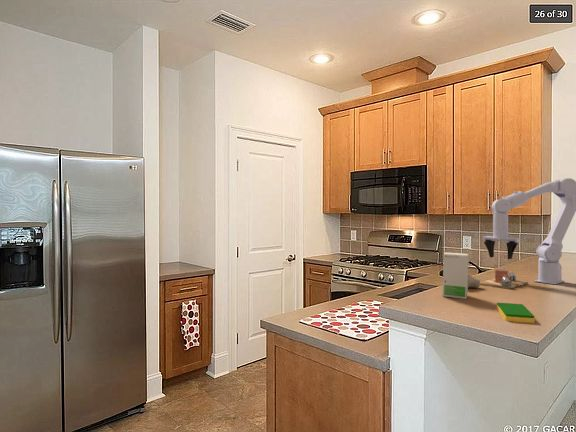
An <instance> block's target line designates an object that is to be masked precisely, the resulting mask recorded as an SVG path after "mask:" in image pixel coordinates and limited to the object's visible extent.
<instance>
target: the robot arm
mask: <svg viewBox="0 0 576 432" xmlns="http://www.w3.org/2000/svg"><path fill="white" fill-rule="evenodd" d="M546 193H553V194H554V195H556V197H558V198H559V199H560V201H561V203H562V204H561V207H560V209H559V211H558V213H557V216H556V218H555V220H554V222H553V225H552V227H551V229H550V231H549V233H548V235H547V236H546V238H545V239H544V240H543V241H542V243H541V244H539V245H538V247H536V250H535V251H536V255H537V257H538V260H537V261H538V266H537V267H538V269H537V270H538V272H537V273H538V276H537V277H538V279H535V280H534V281H533V282H536V283H543V284H548V285H549V284H550V285H558V284H561V283H563V282H565V280H562V278H563V277H562V275H563V274H562V273H563V272H562V270H563V268H562V265H561V263H560V259H561V257H562V250H563V240H564V238H565V235H566V233H567V231H568V229H569V226H570V224H571V223H572V221H573V219H574V216H575V214H576V180H575V179H573V178H563V179H556V180H554V181H549V182H545V183H543V184H540V185H538V186H536V187H534V188H532V189H530V190H527V191H520V190H519V191H517V190H515V191H513V193H512V194H510V195H509V194H508V195H507V196H505V195H504V196H502V197H501V199H496V200H494V201H493V202H492V204H491V206H490V207H491V211H493V213H492V214H493V215H492V233H493V234H492V235H484V236H482V241H484V242H483V243H484V245H485V247H486V249H487V251H488V255H489V258H494V256H495V250H494V249H495V244H496V242H504V243H506V249H507V259H508V260H512V259H513V256H514V252H515V250H516V248H517V246H518V245H519V243H520V237H512V236H509V211H510V210H512V209H514V208H518V207H520V206H522V205H525V204H527V202H528V200H530V199H532V198H535V197H538V196H541V195H543V194H546Z"/></svg>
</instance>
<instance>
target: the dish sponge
mask: <svg viewBox="0 0 576 432" xmlns="http://www.w3.org/2000/svg"><path fill="white" fill-rule="evenodd" d="M496 304H497V305H496V309H497V311H498V313H499V314H500V315H501V316H502V318H503V320H504V321H506V322H517V323H527V324H535V315H534V314H533V313H532V312H531V311H530V310H529V309H528V308H527V307H526V306H525V305H524V304H522V303H509V302H496Z"/></svg>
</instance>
